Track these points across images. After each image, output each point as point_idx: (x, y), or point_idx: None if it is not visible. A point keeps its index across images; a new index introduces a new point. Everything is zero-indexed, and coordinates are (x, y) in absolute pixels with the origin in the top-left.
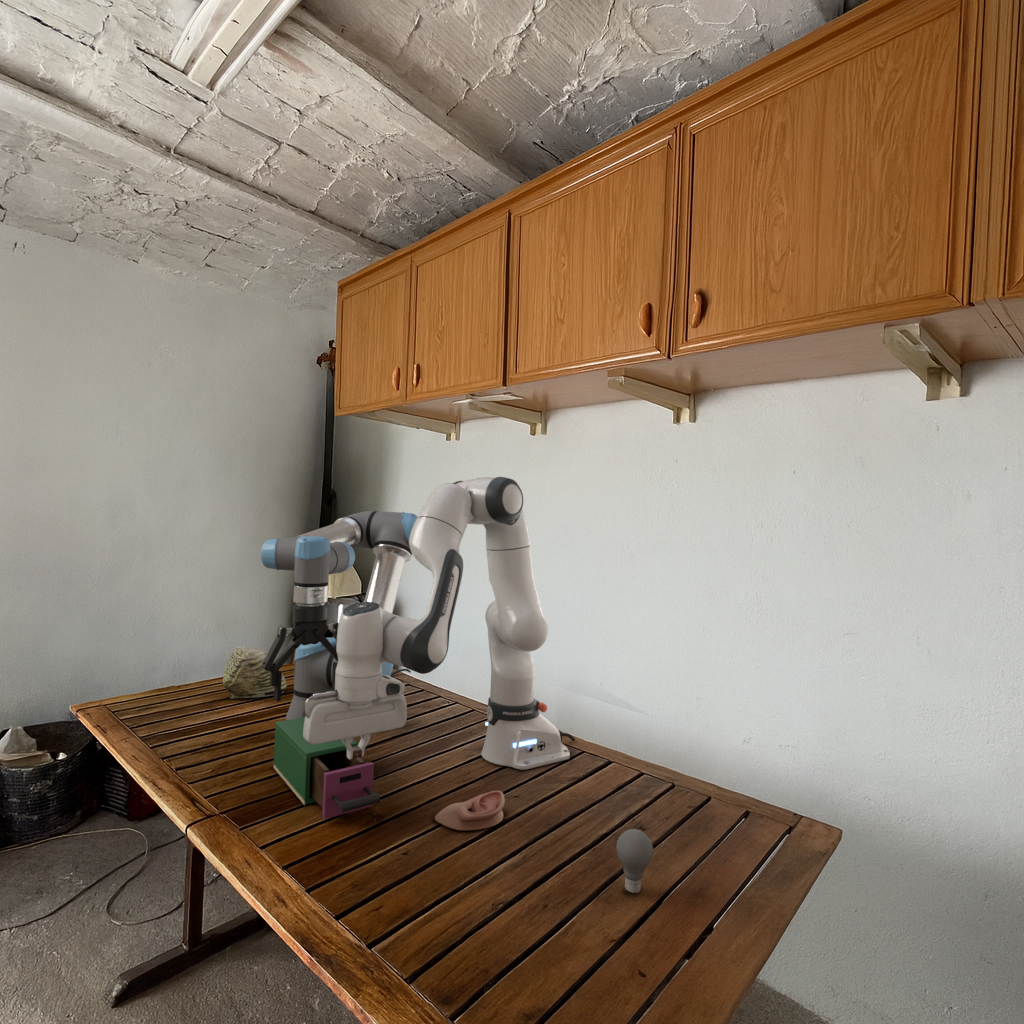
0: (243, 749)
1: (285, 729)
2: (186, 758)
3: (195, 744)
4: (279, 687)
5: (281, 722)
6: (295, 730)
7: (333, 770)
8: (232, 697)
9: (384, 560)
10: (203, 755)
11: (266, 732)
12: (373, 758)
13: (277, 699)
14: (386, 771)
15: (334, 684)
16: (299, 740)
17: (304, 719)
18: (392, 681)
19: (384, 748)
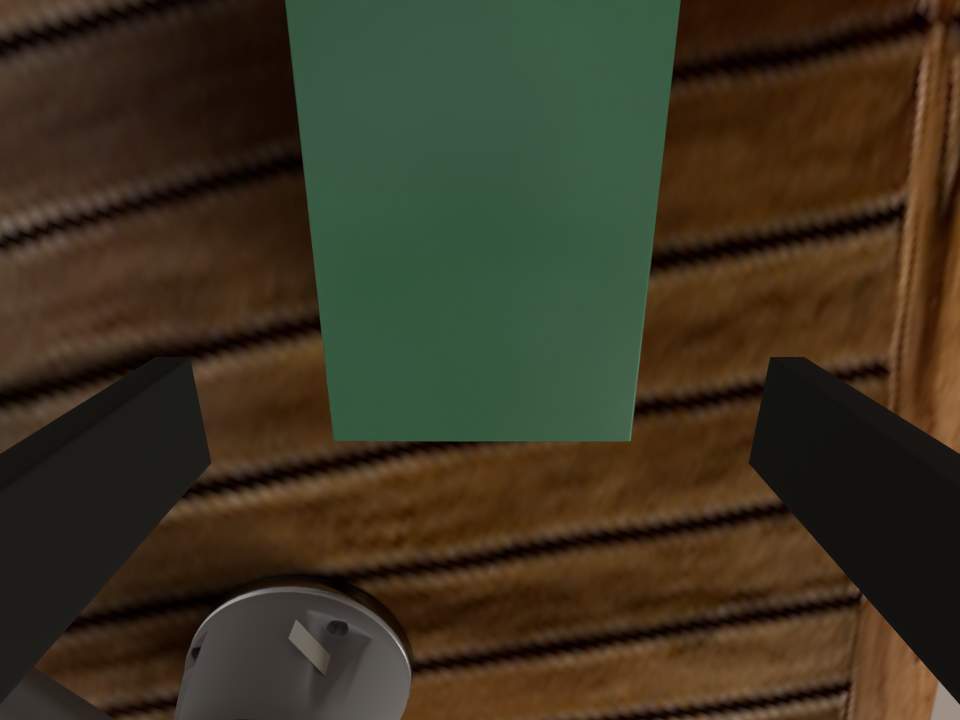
0: (612, 553)
1: (632, 289)
2: (800, 568)
3: (729, 655)
4: (889, 421)
5: (604, 415)
6: (585, 239)
7: None
8: None
9: None
10: (745, 566)
11: (491, 649)
12: (168, 222)
13: (816, 366)
14: (143, 38)
15: (163, 444)
16: (641, 21)
17: (465, 400)
18: None
19: (94, 302)
